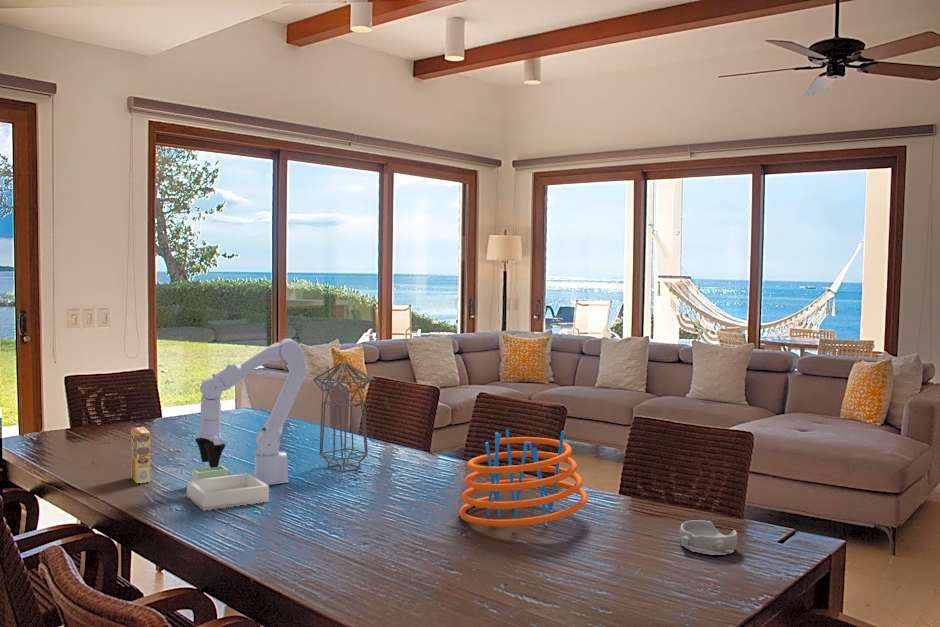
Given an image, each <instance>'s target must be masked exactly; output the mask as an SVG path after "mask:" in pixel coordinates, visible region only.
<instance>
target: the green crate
mask: <svg viewBox="0 0 940 627" xmlns="http://www.w3.org/2000/svg"><path fill="white" fill-rule="evenodd" d="M222 476H229V469H228V468H227V467H225V466H223V465H218V467H214V468H210V466H205V467H198V468H197V467H196V468H191V480H197V479H205V478H213V477H222Z"/></svg>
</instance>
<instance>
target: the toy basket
mask: <svg viewBox="0 0 940 627" xmlns="http://www.w3.org/2000/svg"><path fill="white" fill-rule="evenodd" d="M494 434H495V435H494V438H495V439H494V445H495V446H494V448H495V449H494V450H495V452H494V453H491V451H490V445H489V442H488V441H486V442H484V445H485V446H484V447H485V450H486V454H483V455H479V456H476V457H473V458H471V459H469V460H468V461H467V463H466V466H467V468H468V469H469V470H470V471H472V472H471V473H470V474H468V475H466V476H465V478H464V484H465V485H466V486H467V487H469V488H467V489H465V490H464V491H463V493H461V500H462V501H463V502H464V504H463V505H462V506H461V507H460V509H459V512H458V515H459V517H460V519H462V521H463V520H464V521H465V522H467V523H469V524H472V525H473V524H474V525H478V526H484V527H501V528H502V527H518V526H529V525H530V526H531V525H535V524H542V523H544V524H545V523H548V522H551V521H555V520H556V521H557V520H559V519H561V518H566V517H569V516H570V515H572V514H574V513H576V512H578V511H580V510H581V509H583V508H584V506H586V504H587V502H588V500H589V498H588V497H589V496H588V494H587V492H586V491H585V490H584V489H583V488H582V486H583V478H582V476H581V475H579V474H578V473H577V469H578V464H577V462H576V460H574V459H573V458H572V457H571V456H572V452H573V449H572V447H571V445H569V444H568V443H567V442H564V439H565V438H564V437H565V431H564V430H561V432H560V438H559V440H558V439H553V438H549V437H548V438H547V437H536V436H535V437H534V436H533V437H531V436H516V437H514V436H512V437H510V429H509V428H506V429H505V436H506V437H502V434H500V433H499V432H494ZM511 444H523V449H522V450H519V451H518V450H517V451H516V450H515V451H511ZM533 444H537V445H538V444H539V445H540V444H541V445H549V446H554V447H558V452H548V451H539V450H538V448H537V446H534V447H533ZM500 445H506V447H507V451H502V452H499V451H500ZM528 447H529V448H528ZM527 449H529V450H527ZM562 449H563V450H564V452H563V453H562ZM513 458H521V463H520V464H517V465H514V464H513V461H512V459H513ZM526 458H532V459H533V462H531V463H526ZM539 458H540V459H541V458H543V459H544V460H541V461H540V460H539ZM499 459H507V460H508V465H504V466H503V465H502V466H500V464H499V462H500V460H499ZM492 460H493V463H492ZM483 462H487V463H488V466H487V465H486V466H483V465H477V464H480V463H483ZM561 462H563V463H566V464H568V465H569V466H570V467H569V468H563V467H560V463H561ZM554 465H555V466H554ZM524 472H536V475H537V478H523V477H524ZM542 472H543V473H544V472H545V473H552V474H553V473H554V475H553V476H548V477H545V478H543V474H542ZM514 473H519V476H518V478H514V475H513V474H514ZM500 474H509V479H502V480H501V479H500ZM488 475H489V476H490V479H491V480H490V481H489V482H484V483H483V482H476V481H473V480H474V479H477V478H481V477H484V476H488ZM569 477H570V478H572V479H573V480H574V481H575V483H570V482H567V481H564V480H566V479H568V478H569ZM546 486H549V487H551V486H552V489H551V494H550V495H549V494H548V492H547V488H546ZM556 487H557V488H562V489H564V490H562V491H560V492H558V493H556V490H557V488H556ZM533 488H534V489H535V488H538V489H539V495H540V497H537V498H531V499H524V500H521V499H520V497H521V491H522V490H528V489H533ZM481 491H485V492H486V491H489V494H488V496H484V497H481V498H476V499H474V498H471V497H470V496H471V495H472V494H474V493H477V492H478V493H479V492H481ZM507 491H510V494H511V501H510V500H509V501H500V492H507ZM515 491H517V492H516V496H515ZM576 493H577V494H578V495H579V496H580V500H579V501H578V502H576V503H575V504H574V505H572V506H569V507H568V508H564V509H562V510H559V511H556V512H552V513H549V514H547V509H546V504H547V507H548V509H549V511H550V510H552V509H554V502H557V501H560V500H563V499H567V498H568V497H570V496H572V495H574V494H576ZM515 497H516V498H515ZM492 499H495V501H493V502H491V500H492ZM486 500H488V501H486ZM471 506H475V507H476V508H480V509H481V508H482V509H486V513H485V514H489V515H490V512H491V509H492V510H493V509H494V510H495V509H496V510H495V511H496V517H497V518H500V517H501V510H500V509H503V510H504V509H505V510H506V509H514V512H513V517H512V518H511V519H493V518H492V519H491V518H490V519H489V518H481V517H476V516H472V515H470V514H467V513H465V512H467V511H468V510H467V509H468V508H469V507H471ZM535 506H541V509H542V515H539V516H533V517H523V518H518V512H519V508H528V507H535ZM466 510H467V511H466ZM548 524H549V523H548Z"/></svg>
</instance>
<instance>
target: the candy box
mask: <svg viewBox="0 0 940 627" xmlns="http://www.w3.org/2000/svg"><path fill="white" fill-rule="evenodd" d="M130 477H131V479H132V480H133V481H134V482H135V484H136V483H137V485H138V483H140V484H147V482H148V483H151V432H150V431H149V430H148V429H147V428H146V427H144V426H141V427H130Z"/></svg>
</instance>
